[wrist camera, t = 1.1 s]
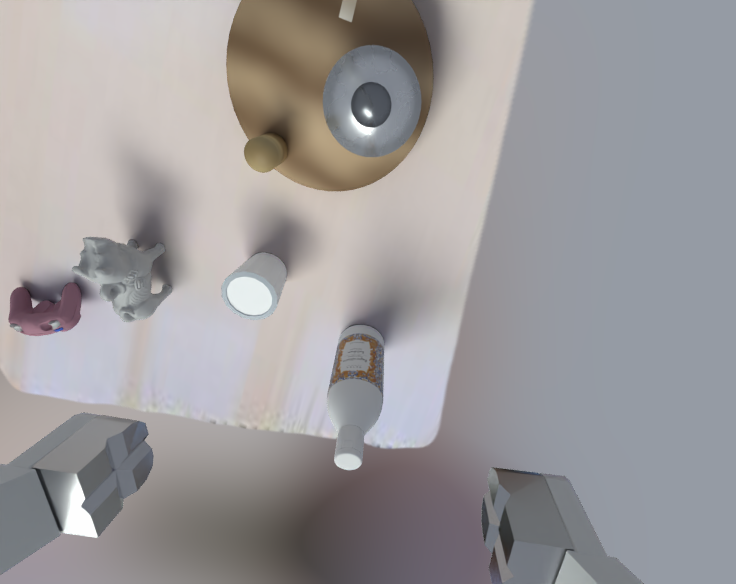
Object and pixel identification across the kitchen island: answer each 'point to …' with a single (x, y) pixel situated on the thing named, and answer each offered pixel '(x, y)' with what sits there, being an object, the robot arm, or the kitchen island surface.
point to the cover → (372, 101)
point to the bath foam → (355, 391)
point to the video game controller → (45, 312)
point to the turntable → (314, 82)
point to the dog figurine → (122, 275)
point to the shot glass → (255, 286)
